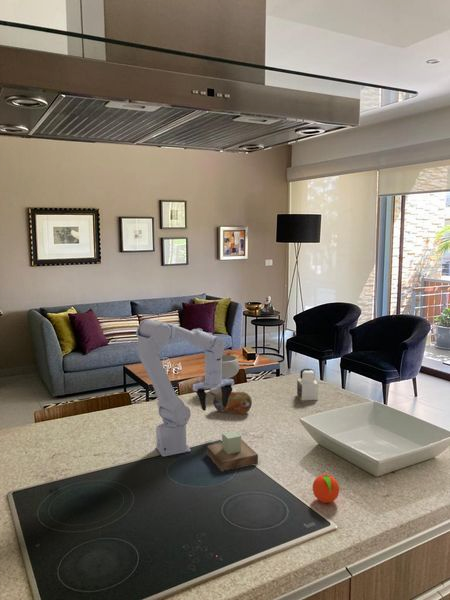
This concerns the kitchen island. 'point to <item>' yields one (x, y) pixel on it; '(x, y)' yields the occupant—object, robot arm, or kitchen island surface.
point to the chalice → (227, 370)
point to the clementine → (325, 488)
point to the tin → (233, 403)
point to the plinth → (232, 456)
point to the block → (231, 442)
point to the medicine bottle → (307, 385)
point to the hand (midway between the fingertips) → (214, 407)
